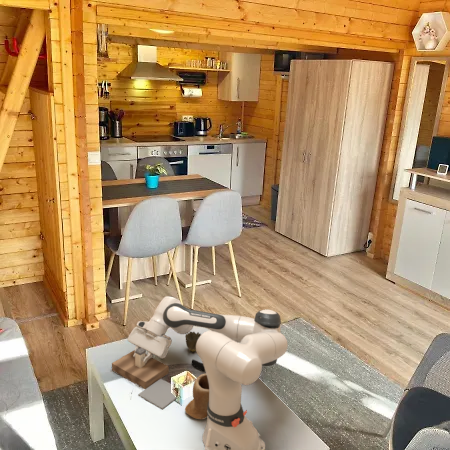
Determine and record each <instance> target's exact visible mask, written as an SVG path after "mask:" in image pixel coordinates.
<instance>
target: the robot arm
mask: <svg viewBox="0 0 450 450" xmlns="http://www.w3.org/2000/svg"><path fill="white" fill-rule="evenodd" d="M281 321H282V320H281V315H280V314H279V313H278V312H277V311H275V310H273V309H262V310H258V311H257V312H256V313H255V315H254V317H249V316H243V315H237V314H236V315H235V314H221V313H213V312H207V311H200V310H196V309H190V308H187V307H186V306H184V305H183V304H182V302H181V300H180V299H178V298H177V297H174V296H170V295H168V296H167V295H166V296H164V297H163V298H162V299H161V301H160V302H159V304H158V305H157V307H156V308H155V310H154V313H153V315H152V316H151V318H150V319H149V321H143V320H140V321H137V323H136V326H135V327H133V329H132V331H131V332H130V333H129V335H128V337H127V342H129V343H131V344H132V345H134V346H135V347H134V350H137V349H139V348H142V349H144V350H146V352H147V354H146V355H147V356H146V357H145V358H144V357H143V359H142V362H144V363H146V362H147V361H148V359H150V358H151V357H152V358H153V356H156V357H158V358H159V359H161V360H162V359H165V358H166V356H167V354H168V352H169V349H170V346H171V345H172V343H173V339H172V338H171V337H170V336H168V335H166V333H167V332H168V331H169V330H168V329H169V328H170V329H171V330H173V331H174V332H175V333H177V334H180V335H186V334H187V333H190V332H192V330H193V328H194V327H197V328H203V329H207V330H206V331H205V332H203V333H201V336H200V337H199V339H198V340H197V343H196V351H195V352H196V354H197V355H198V357H199V359H200V361H201V363H203V365H204V368H205V371H206V372H205V371H204V372H205V374H207V378H208V382H209V401H208V406H207V415H208V416H207V417H206V418H207V419H206V425H205V428H204V431H203V432H202V443H203V444H204V450H266V443H265V442H264V441H263V439H261V438H260V435H259V432H258V429H257V428H255V426H254V423H253V421H252V420H250V419H248V417H246V414H247V413H248V411H247V409H246V410H245V411H244V409H243V406H242V385H245V386H250V385H252V384H254V383H255V382H256V381H257V380H258V379H259V378H260V376H261V373H262V369H263V368H262V367H272V366H274V365H275V364H276V363H277V362H278V359H280V358H281V357H283V356H284V355H285V354H286V353H287V351H288V347H289V346H288V340H287V338H286V336H285V335H284V334H283V333H281V324H282V322H281ZM133 357H135V353H134V355H133Z"/></svg>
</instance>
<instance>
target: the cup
mask: <svg viewBox="0 0 450 450" xmlns="http://www.w3.org/2000/svg"><path fill="white" fill-rule="evenodd" d="M201 335H202V333H200V332H195V331H190V332H189V333H187V334H185V344H186V347H187V348H188V350H189V352H191V353H195V352H196V343H197V340H198V339H199V337H200V336H201Z"/></svg>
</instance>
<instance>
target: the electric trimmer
mask: <svg viewBox="0 0 450 450" xmlns="http://www.w3.org/2000/svg"><path fill="white" fill-rule="evenodd" d="M191 365H192V366H193V367H194V368H196V369H197V370H199V371H200V372H204V373H206V371H205V368H204V365H203V363H202V362H200V361H198V360H195V359H192V360H191Z"/></svg>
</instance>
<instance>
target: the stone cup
mask: <svg viewBox="0 0 450 450" xmlns="http://www.w3.org/2000/svg"><path fill="white" fill-rule="evenodd" d="M192 397H193V399H191V400H190V401H189V402H188V403H187V404H186V406H185V408H184V411H185V413H186V414H187V415H188V416H189V417H191V418H193V419H195V420H205V419H206V418H207V417H208V415H207V406H208V401H209V382H208V378H207V374H206V373H202V374H200V375H199V376H197V377H196V379H195V380H194V381H193V386H192Z"/></svg>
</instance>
